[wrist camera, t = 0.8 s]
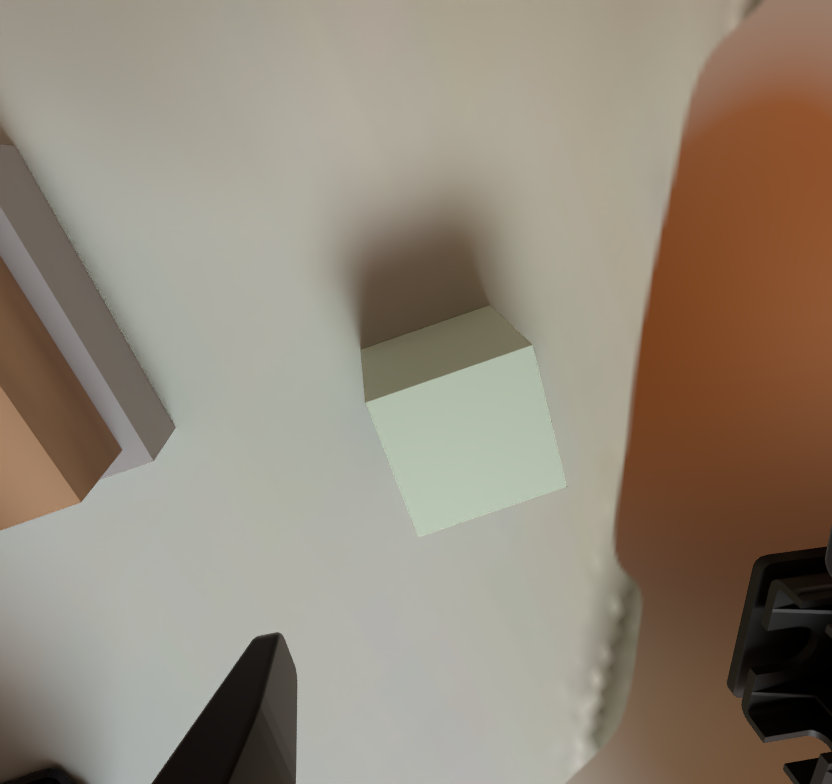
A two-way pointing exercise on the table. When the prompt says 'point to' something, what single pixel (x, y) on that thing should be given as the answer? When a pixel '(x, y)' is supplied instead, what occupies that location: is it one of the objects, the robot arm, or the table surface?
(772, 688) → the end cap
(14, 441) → the top slab
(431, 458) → the green cube
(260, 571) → the table surface
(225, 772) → the robot arm
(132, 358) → the bottom slab
